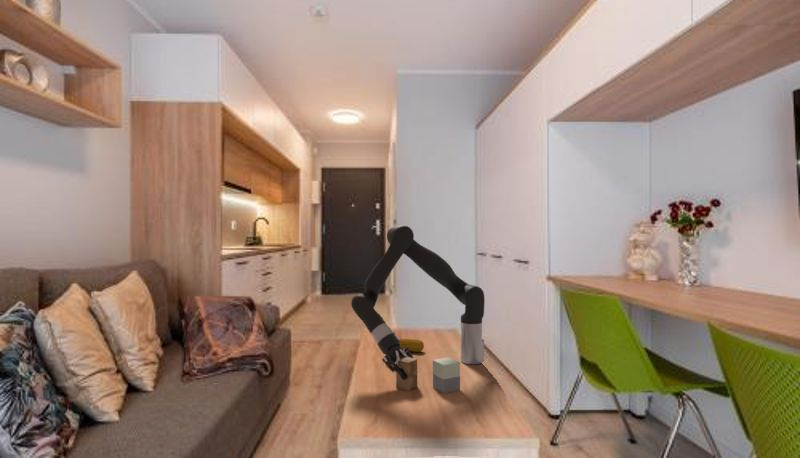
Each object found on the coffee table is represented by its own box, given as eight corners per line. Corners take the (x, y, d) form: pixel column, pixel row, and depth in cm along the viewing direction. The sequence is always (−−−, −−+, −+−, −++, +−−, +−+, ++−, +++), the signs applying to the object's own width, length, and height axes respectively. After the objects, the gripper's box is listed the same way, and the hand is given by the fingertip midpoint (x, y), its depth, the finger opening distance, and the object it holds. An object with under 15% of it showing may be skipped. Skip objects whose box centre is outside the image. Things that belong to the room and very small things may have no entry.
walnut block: (405, 383, 160) (405, 356, 160) (417, 386, 157) (417, 359, 157) (396, 387, 156) (396, 359, 156) (408, 390, 152) (408, 362, 153)
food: (424, 351, 205) (424, 338, 205) (420, 354, 199) (420, 341, 199) (384, 346, 213) (384, 334, 213) (379, 349, 208) (379, 337, 208)
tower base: (448, 384, 160) (448, 370, 160) (460, 390, 153) (460, 376, 153) (432, 387, 156) (432, 373, 156) (443, 393, 150) (443, 379, 150)
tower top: (448, 370, 160) (448, 357, 160) (459, 376, 153) (459, 362, 153) (432, 373, 156) (432, 360, 156) (443, 379, 150) (443, 365, 150)
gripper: (378, 336, 155) (405, 375, 148) (402, 329, 167) (428, 365, 159) (367, 348, 158) (393, 387, 151) (391, 340, 170) (416, 377, 163)
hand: (410, 376), depth 155 cm, fingers closed on walnut block, 5 cm apart
